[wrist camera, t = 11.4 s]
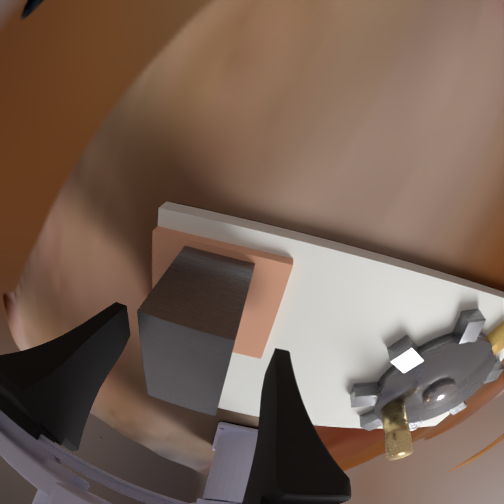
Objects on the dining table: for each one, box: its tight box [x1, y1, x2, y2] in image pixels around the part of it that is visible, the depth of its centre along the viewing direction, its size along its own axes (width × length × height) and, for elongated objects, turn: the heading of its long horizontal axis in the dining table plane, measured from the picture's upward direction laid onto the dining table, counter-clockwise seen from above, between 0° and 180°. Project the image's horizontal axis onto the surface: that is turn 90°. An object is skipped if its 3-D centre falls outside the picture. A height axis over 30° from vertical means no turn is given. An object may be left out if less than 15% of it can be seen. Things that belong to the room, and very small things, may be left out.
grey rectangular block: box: [137, 246, 255, 416], centre depth 12 cm, size 6×4×5 cm, turn 168°
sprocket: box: [350, 309, 504, 460], centre depth 14 cm, size 14×14×6 cm
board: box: [152, 202, 504, 428], centre depth 17 cm, size 17×29×2 cm, turn 79°
